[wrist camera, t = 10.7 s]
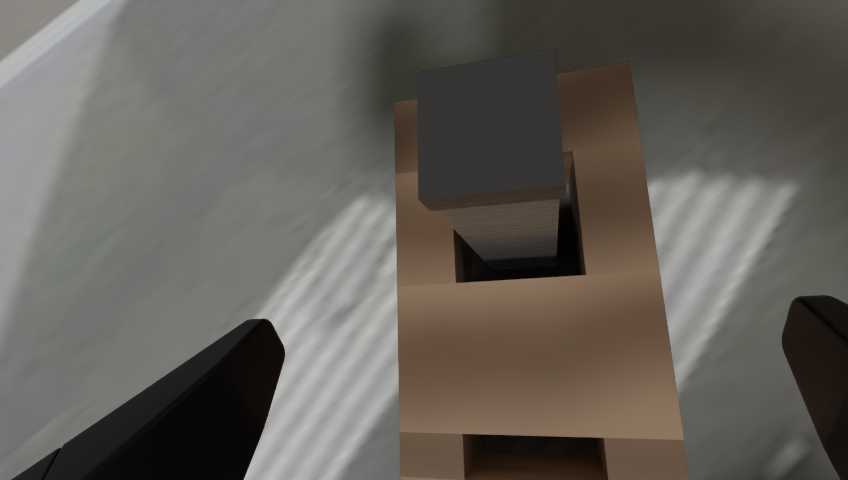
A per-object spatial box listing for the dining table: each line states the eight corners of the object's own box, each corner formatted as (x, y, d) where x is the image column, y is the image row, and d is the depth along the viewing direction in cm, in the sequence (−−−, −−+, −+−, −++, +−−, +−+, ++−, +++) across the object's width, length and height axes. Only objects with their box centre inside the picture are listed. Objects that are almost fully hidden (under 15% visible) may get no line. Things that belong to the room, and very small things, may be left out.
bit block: (678, 576, 17) (713, 644, 14) (430, 552, 20) (402, 602, 16) (615, 108, 22) (629, 61, 18) (418, 138, 24) (394, 102, 20)
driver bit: (558, 268, 21) (566, 184, 9) (490, 272, 22) (418, 199, 10) (552, 203, 22) (554, 48, 10) (487, 209, 22) (416, 72, 11)
